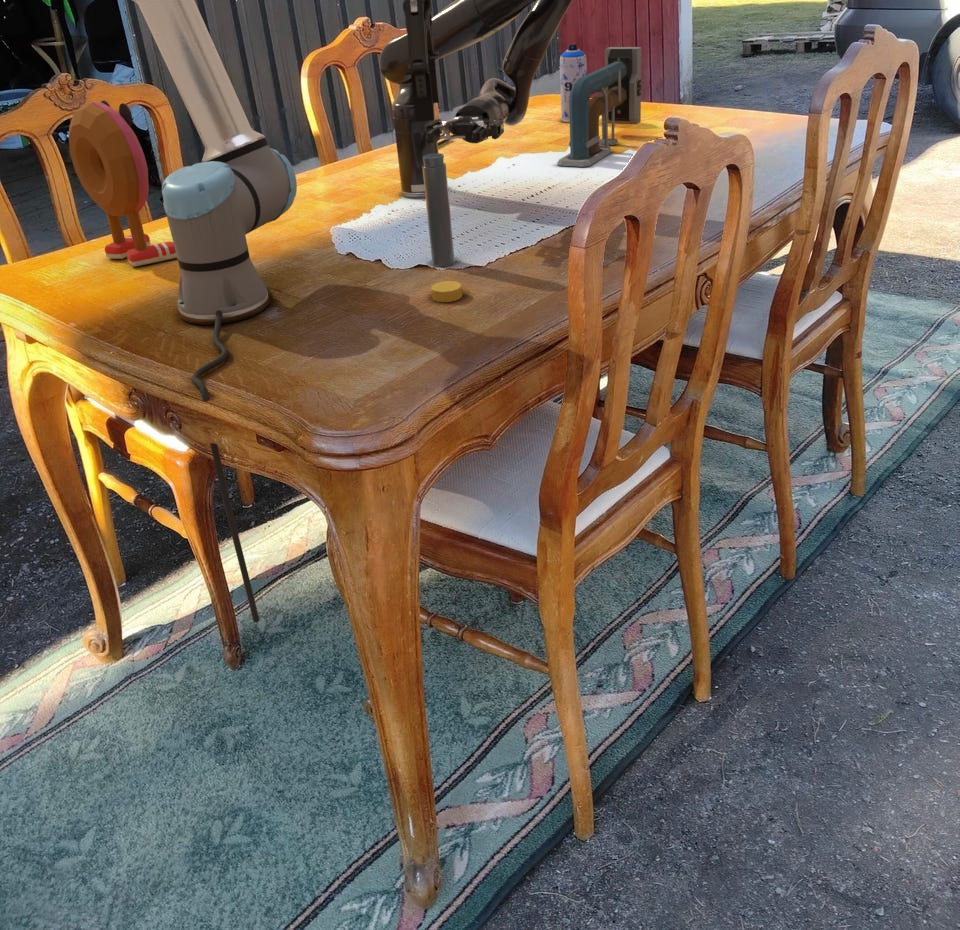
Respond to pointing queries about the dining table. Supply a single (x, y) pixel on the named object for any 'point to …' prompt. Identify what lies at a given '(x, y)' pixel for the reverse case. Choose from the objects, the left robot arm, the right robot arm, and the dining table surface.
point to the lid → (446, 291)
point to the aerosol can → (570, 75)
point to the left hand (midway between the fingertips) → (427, 111)
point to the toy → (115, 178)
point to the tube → (438, 209)
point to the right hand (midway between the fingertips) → (452, 137)
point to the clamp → (603, 105)
